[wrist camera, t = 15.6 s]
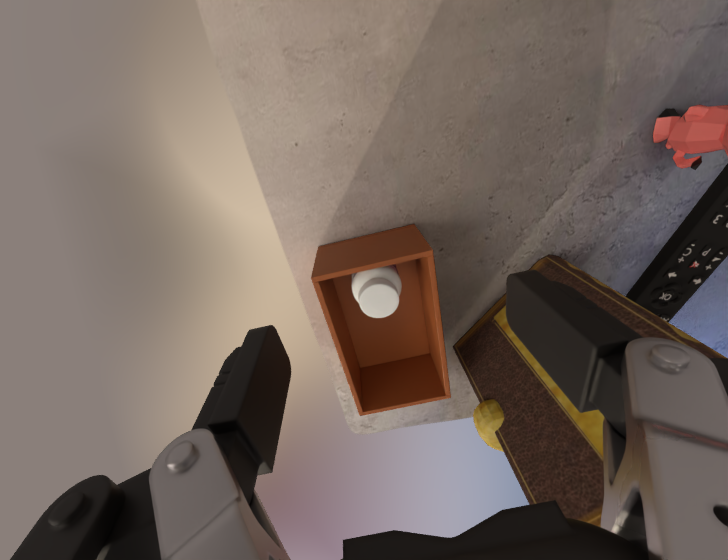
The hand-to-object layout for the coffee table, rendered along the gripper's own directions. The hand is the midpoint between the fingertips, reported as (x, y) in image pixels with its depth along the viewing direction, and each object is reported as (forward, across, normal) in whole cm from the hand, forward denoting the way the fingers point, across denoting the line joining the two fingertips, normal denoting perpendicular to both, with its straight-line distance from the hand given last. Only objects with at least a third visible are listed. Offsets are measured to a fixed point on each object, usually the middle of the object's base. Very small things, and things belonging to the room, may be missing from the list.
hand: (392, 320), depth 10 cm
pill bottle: (+26, 0, +10) cm, 27 cm away
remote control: (+26, -41, +21) cm, 52 cm away
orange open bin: (+26, 0, +17) cm, 31 cm away
